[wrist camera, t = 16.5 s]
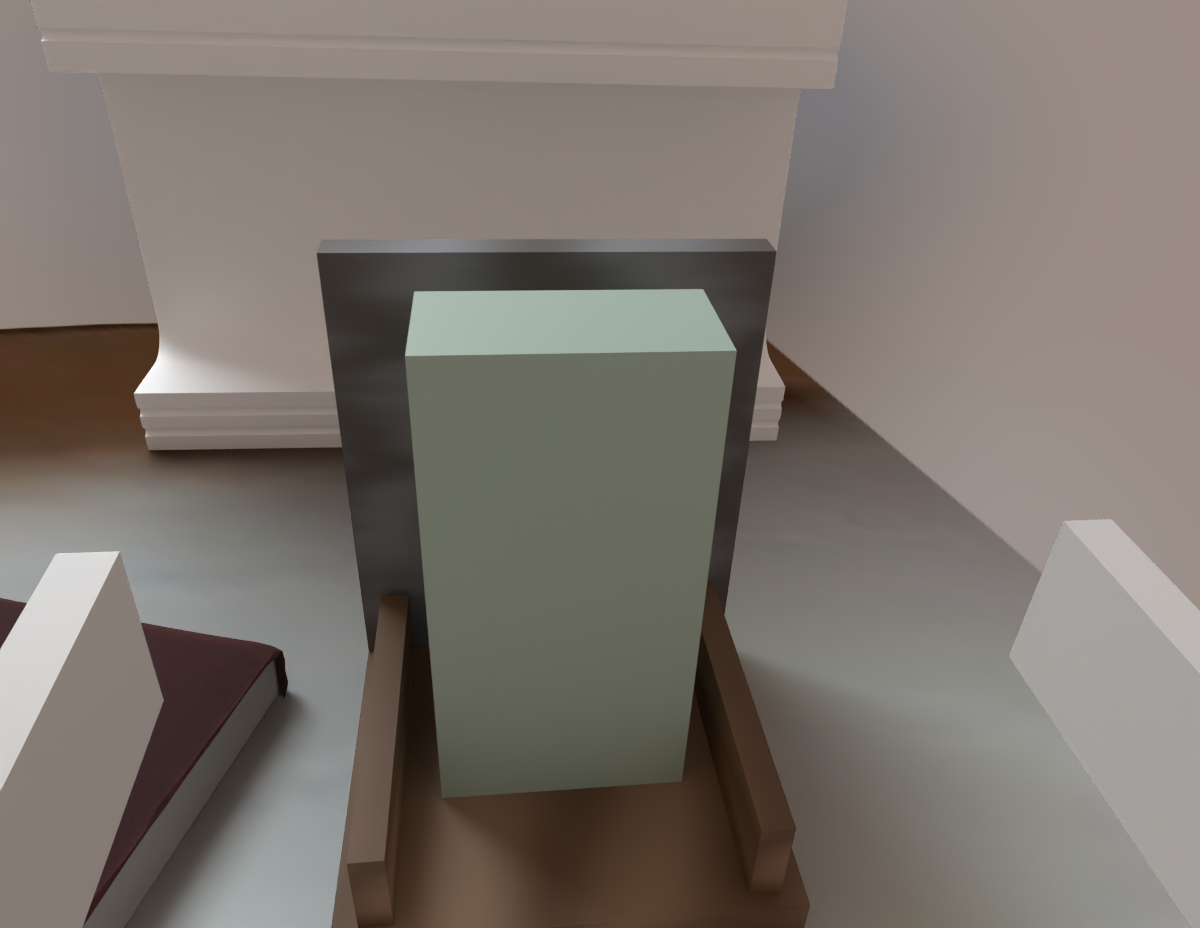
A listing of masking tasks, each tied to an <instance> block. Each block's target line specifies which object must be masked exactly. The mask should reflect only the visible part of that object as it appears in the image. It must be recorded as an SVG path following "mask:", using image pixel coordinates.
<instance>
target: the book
mask: <svg viewBox="0 0 1200 928" xmlns="http://www.w3.org/2000/svg"><path fill="white" fill-rule="evenodd" d="M26 604H27V603H23V602H17V601H12V600H7V599H2V598H0V649H1V647H2V645H3V644H4V642H5V640H6V639H7V637H8V635H9V633H10V632H11V630H12V628H13V627H14V625H15V623H16V621H17V620H18V618H19V616H20V615H21V613H22V611H23V610H24V608H25V606H26ZM141 625H142V629H143V632H144V636H145V639H146V642H147V646H148V649H149V652H150V656H151V659H152V663H153V666H154V669H155V673H156V676H157V679H158V683H159V686H160V690H161V693H162V696H163V700H164V701H163V704H162V706H161V709H160V712H159V715H158V718H157V720H156V723H155V726H154V729H153V732H152V734H151V737H150V740H149V743H148V746H147V748H146V751H145V754H144V757H143V760H142V762H141V765H140V768H139V771H138V773H137V776H136V779H135V782H134V785H133V787H132V790H131V793H130V796H129V799H128V801H127V804H126V807H125V810H124V813H123V815H122V818H121V821H120V824H119V827H118V829H117V832H116V835H115V838H114V841H113V843H112V846H111V849H110V852H109V855H108V857H107V860H106V863H105V866H104V869H103V871H102V874H101V877H100V880H99V882H98V885H97V888H96V891H95V894H94V896H93V899H92V902H91V905H90V908H89V910H88V913H87V916H86V919H85V922H84V924H83V927H82V928H125V927H126V925H127V924H128V922H129V921H130V919H131V918H132V916H133V915H134V913H135V911H136V910H137V908H138V907H139V905H140V904H141V902H142V901H143V899H144V897H145V896H146V894H147V893H148V891H149V890H150V888H151V887H152V885H153V884H154V882H155V881H156V879H157V878H158V876H159V875H160V873H161V872H162V870H163V869H164V867H165V866H166V864H167V862H168V861H169V859H170V858H171V856H172V855H173V853H174V852H175V850H176V848H177V847H178V845H179V844H180V842H181V841H182V839H183V838H184V836H185V835H186V833H187V832H188V830H189V829H190V827H191V825H192V824H193V822H194V821H195V819H196V818H197V816H198V815H199V813H200V812H201V810H202V809H203V807H204V806H205V804H206V803H207V801H208V800H209V798H210V797H211V795H212V793H213V792H214V790H215V789H216V787H217V786H218V784H219V783H220V781H221V780H222V778H223V777H224V775H225V774H226V772H227V771H228V769H229V768H230V766H231V765H232V763H233V762H234V760H235V759H236V757H237V755H238V754H239V752H240V751H241V749H242V748H243V746H244V745H245V743H246V742H247V740H248V739H249V737H250V736H251V734H252V732H253V731H254V729H255V728H256V726H257V725H258V723H259V722H260V720H261V719H262V717H263V716H264V714H265V713H266V711H267V710H268V708H269V707H270V705H271V704H272V702H273V701H274V699H275V698H276V696H278V695H283V698H284V696H285V695H286V691H287V685H288V680H287V676H286V672H285V659H284V656H283V652H282V651H281V650H279V649H277V648H275V647H273V646H270V645H266V644H262V643H258V642H252V641H245V640H238V639H232V638H225V637H219V636H213V635H207V634H201V633H196V632H190V631H184V630H178V629H173V628H167V627H161V626H156V625H151V624H146V623H141Z"/></svg>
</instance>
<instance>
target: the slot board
mask: <svg viewBox="0 0 1200 928" xmlns="http://www.w3.org/2000/svg"><path fill="white" fill-rule="evenodd" d="M776 252H777V251H776V250H775V249H774V248H773V246H772V245H771V244H770V242H769V241H768V240H767V239H322V241H321V243H320V246H319V248H318V250H317V261H318V268H319V276H320V284H321V291H322V299H323V306H324V314H325V321H326V329H327V337H328V344H329V352H330V359H331V367H332V375H333V382H334V390H335V397H336V405H337V413H338V420H339V428H340V435H341V443H342V451H343V458H344V466H345V473H346V481H347V488H348V496H349V504H350V511H351V519H352V526H353V534H354V542H355V549H356V557H357V564H358V572H359V580H360V587H361V595H362V602H363V610H364V618H365V625H366V633H367V640H368V648H369V655H368V662H367V669H366V677H365V684H364V691H363V699H362V706H361V714H360V721H359V728H358V736H357V743H356V750H355V758H354V765H353V772H352V780H351V787H350V795H349V802H348V809H347V817H346V824H345V831H344V839H343V846H342V854H341V861H340V868H339V876H338V883H337V890H336V898H335V905H334V912H333V920H332V927H331V928H804V925H805V921H806V918H807V914H808V910H809V907H810V903H809V900H808V897H807V894H806V891H805V888H804V885H803V882H802V879H801V876H800V873H799V870H798V866H797V863H796V860H795V857H794V854H793V851H792V848H791V847H792V843H793V839H794V834H795V830H796V828H795V825H794V822H793V819H792V816H791V813H790V810H789V807H788V804H787V801H786V798H785V795H784V792H783V789H782V786H781V783H780V780H779V777H778V774H777V771H776V768H775V765H774V762H773V759H772V756H771V753H770V750H769V747H768V744H767V741H766V738H765V735H764V732H763V729H762V726H761V723H760V720H759V717H758V714H757V711H756V708H755V705H754V702H753V699H752V696H751V694H750V691H749V688H748V685H747V682H746V679H745V676H744V673H743V670H742V667H741V664H740V661H739V658H738V655H737V652H736V649H735V646H734V643H733V640H732V637H731V634H730V631H729V628H728V625H727V622H726V619H725V616H724V614H725V607H726V600H727V593H728V586H729V579H730V572H731V565H732V558H733V551H734V544H735V537H736V530H737V523H738V516H739V509H740V502H741V495H742V488H743V481H744V474H745V467H746V460H747V454H748V447H749V440H750V433H751V426H752V419H753V412H754V405H755V398H756V391H757V384H758V377H759V370H760V363H761V356H762V349H763V342H764V335H765V328H766V321H767V314H768V307H769V300H770V293H771V286H772V279H773V272H774V266H775V259H776ZM658 289H703V290H704V292H705V294H706V295H707V297H708V299H709V301H710V303H711V305H712V306H713V308H714V310H715V312H716V314H717V316H718V317H719V319H720V321H721V323H722V325H723V326H724V328H725V330H726V332H727V334H728V336H729V337H730V339H731V341H732V343H733V345H734V347H735V348H736V350H737V353H736V360H735V368H734V376H733V384H732V392H731V400H730V407H729V415H728V423H727V431H726V439H725V447H724V455H723V462H722V470H721V478H720V486H719V494H718V502H717V510H716V517H715V525H714V533H713V541H712V549H711V557H710V565H709V572H708V580H707V588H706V596H705V604H704V612H703V619H702V627H701V635H700V643H699V651H698V659H697V667H696V674H695V682H694V690H693V698H692V706H691V714H690V722H689V729H688V737H687V745H686V753H685V761H684V769H683V776H682V781H681V782H667V783H653V784H639V785H625V786H610V787H596V788H582V789H568V790H554V791H539V792H525V793H511V794H497V795H483V796H469V797H454V798H442V792H441V780H440V768H439V756H438V744H437V732H436V720H435V708H434V696H433V684H432V673H431V661H430V649H429V637H428V625H427V613H426V601H425V589H424V577H423V565H422V553H421V542H420V530H419V518H418V506H417V494H416V482H415V470H414V458H413V446H412V434H411V422H410V411H409V399H408V387H407V375H406V363H405V352H406V345H407V338H408V331H409V324H410V317H411V311H412V304H413V297H414V291H536V290H658Z"/></svg>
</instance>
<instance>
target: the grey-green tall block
mask: <svg viewBox="0 0 1200 928" xmlns="http://www.w3.org/2000/svg"><path fill="white" fill-rule="evenodd" d="M736 353H737V350H736V348H735V347H734V345H733V343H732V341H731V339H730V337H729V336H728V334H727V332H726V330H725V328H724V326H723V325H722V323H721V321H720V319H719V317H718V316H717V314H716V312H715V310H714V308H713V306H712V305H711V303H710V301H709V299H708V297H707V295H706V294H705V292H704V290H703V289H658V290H536V291H414V297H413V304H412V311H411V317H410V324H409V331H408V338H407V345H406V352H405V363H406V375H407V387H408V399H409V411H410V422H411V434H412V446H413V458H414V470H415V482H416V494H417V506H418V518H419V530H420V542H421V553H422V565H423V577H424V589H425V601H426V613H427V625H428V637H429V649H430V661H431V673H432V684H433V696H434V708H435V720H436V732H437V744H438V756H439V768H440V780H441V792H442V798H454V797H469V796H483V795H497V794H511V793H525V792H539V791H554V790H568V789H582V788H596V787H610V786H625V785H639V784H653V783H667V782H681V781H682V776H683V769H684V761H685V753H686V745H687V737H688V729H689V722H690V714H691V706H692V698H693V690H694V682H695V674H696V667H697V659H698V651H699V643H700V635H701V627H702V619H703V612H704V604H705V596H706V588H707V580H708V572H709V565H710V557H711V549H712V541H713V533H714V525H715V517H716V510H717V502H718V494H719V486H720V478H721V470H722V462H723V455H724V447H725V439H726V431H727V423H728V415H729V407H730V400H731V392H732V384H733V376H734V368H735V360H736Z"/></svg>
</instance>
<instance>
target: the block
mask: <svg viewBox="0 0 1200 928" xmlns="http://www.w3.org/2000/svg"><path fill="white" fill-rule="evenodd" d="M30 2H31V5H32V9H33V13H34V17H35V20H36V24H37V27H38V28H39V29H40V30H41V33H42V40H41V43H42V47H43V50H44V54H45V58H46V62H47V66H48V70H49V72H84V73H85V72H86V73H89V72H90V73H97V75H98V77H99V80H100V83H101V86H102V90H103V94H104V97H105V102H106V106H107V110H108V115H109V119H110V123H111V127H112V131H113V136H114V140H115V144H116V148H117V153H118V157H119V161H120V165H121V170H122V173H123V178H124V182H125V187H126V191H127V195H128V199H129V204H130V208H131V212H132V216H133V220H134V225H135V229H136V233H137V237H138V241H139V246H140V250H141V254H142V258H143V263H144V267H145V271H146V275H147V280H148V284H149V288H150V292H151V296H152V300H153V305H154V309H155V313H156V318H157V321H158V327H159V336H160V345H159V353H158V357H157V360H156V362H155V364H154V365H153V367H152V368H151V370H150V371H149V372H148V374H147V375H146V377H145V378H144V380H143V381H142V382H141V384H140V385H139V387H138V388H137V390H136V391H135V392H134V397H135V400H136V404H137V408H140V411H141V415H140V419H141V423H142V427H143V428H145V430H146V435H145V438H146V442H147V446H148V450H192V449H256V448H320V447H342V443H341V435H340V428H339V420H338V413H337V405H336V397H335V390H334V382H333V375H332V367H331V359H330V352H329V344H328V337H327V329H326V321H325V314H324V306H323V299H322V291H321V284H320V276H319V268H318V261H317V250H318V248H319V246H320V243H321V241H322V239H767V240H768V241H769V242H770V244H771V245H772V246H773V248H774V249H775V250H776V251H777V245H778V238H779V231H780V224H781V217H782V210H783V203H784V196H785V190H786V182H787V175H788V168H789V162H790V155H791V147H792V141H793V134H794V127H795V120H796V113H797V106H798V100H799V95H800V91H801V88H821V89H826V88H827V89H833V88H834V83H835V76H836V70H837V64H838V60H837V52H838V49H839V48H840V45H841V39H842V32H843V27H844V20H845V14H846V8H847V2H848V0H30ZM773 273H774V272H773ZM772 280H773V279H772ZM771 287H772V286H771ZM770 294H771V293H770ZM769 301H770V300H769ZM768 308H769V307H768ZM767 315H768V314H767ZM766 322H767V321H766ZM784 392H785V385H784V384H783V382H782V380H781V378H780V376H779V375H778V373H777V371H776V369H775V367H774V366H773V364H772V362H771V360H770V358H769V356H768V352H767V346H766V328H765V335H764V342H763V349H762V356H761V363H760V370H759V377H758V384H757V391H756V398H755V405H754V412H753V419H752V426H751V433H750V440H749V441H768V440H777V435H778V429H779V427H778V420H779V419H780V417H781V411H782V408H781V401H783V398H784Z"/></svg>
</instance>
